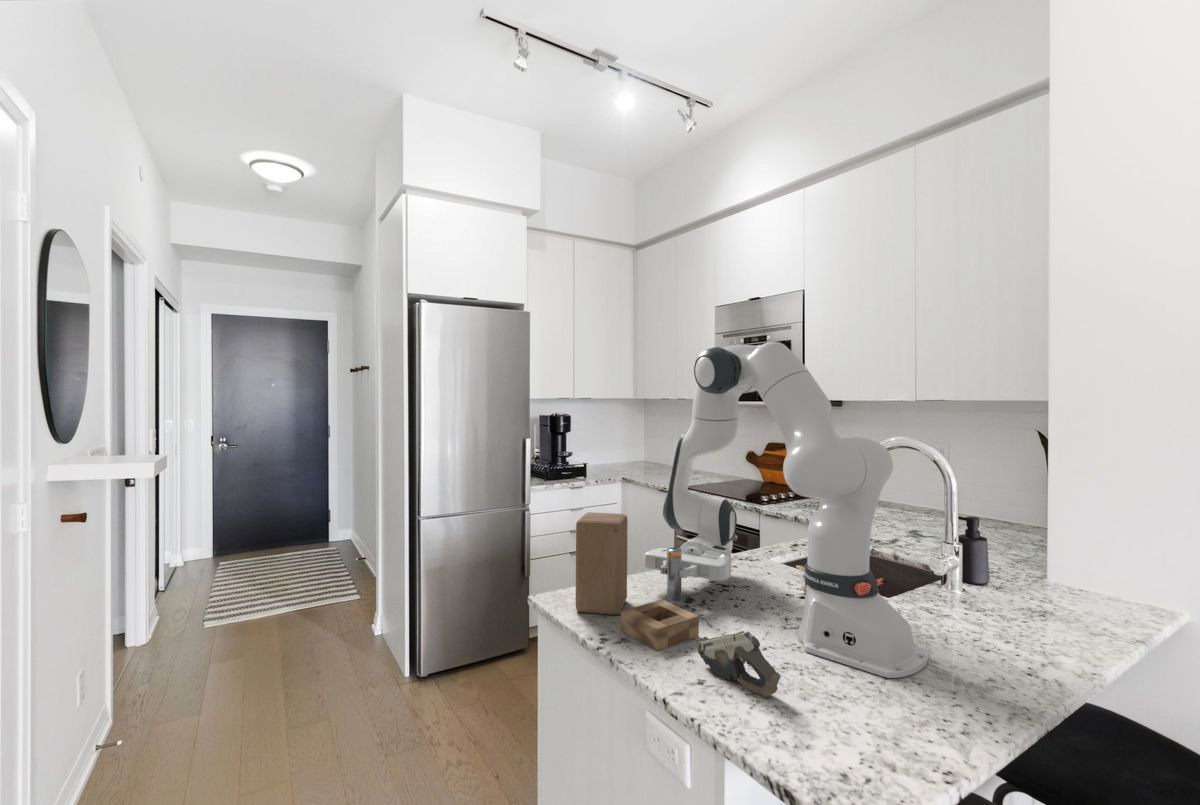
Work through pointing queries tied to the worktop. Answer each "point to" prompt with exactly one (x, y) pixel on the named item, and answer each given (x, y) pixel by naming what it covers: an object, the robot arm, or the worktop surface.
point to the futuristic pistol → (739, 661)
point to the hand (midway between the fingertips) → (672, 572)
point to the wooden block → (601, 563)
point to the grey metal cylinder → (673, 574)
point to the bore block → (660, 624)
